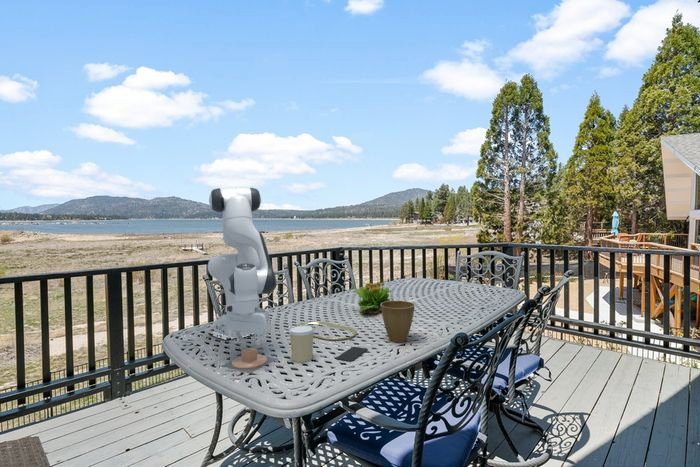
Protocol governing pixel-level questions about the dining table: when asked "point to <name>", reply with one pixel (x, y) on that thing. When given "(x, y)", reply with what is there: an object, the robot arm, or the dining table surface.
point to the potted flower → (372, 297)
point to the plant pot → (397, 319)
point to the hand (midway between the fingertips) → (248, 343)
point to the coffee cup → (301, 343)
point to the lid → (249, 359)
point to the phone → (351, 354)
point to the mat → (269, 360)
